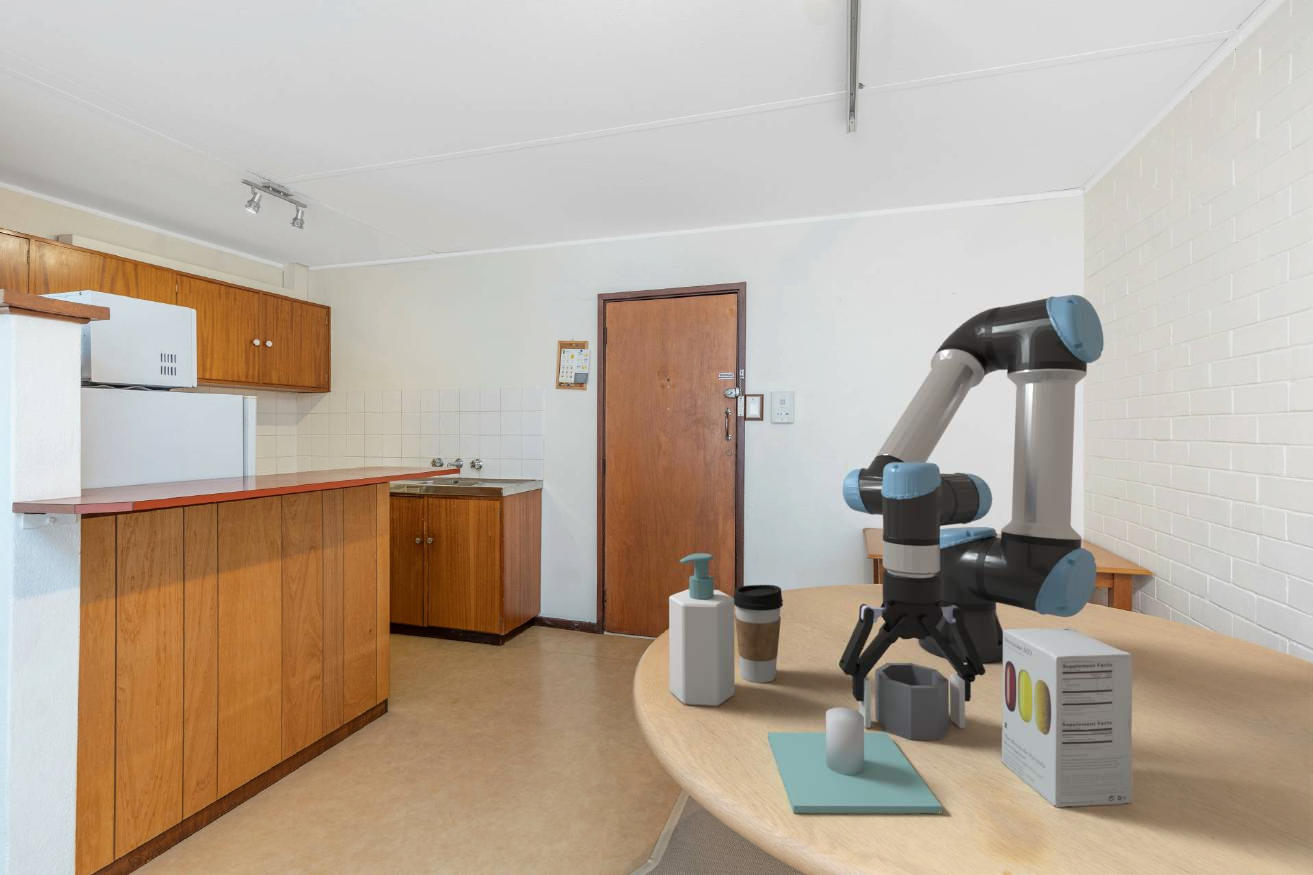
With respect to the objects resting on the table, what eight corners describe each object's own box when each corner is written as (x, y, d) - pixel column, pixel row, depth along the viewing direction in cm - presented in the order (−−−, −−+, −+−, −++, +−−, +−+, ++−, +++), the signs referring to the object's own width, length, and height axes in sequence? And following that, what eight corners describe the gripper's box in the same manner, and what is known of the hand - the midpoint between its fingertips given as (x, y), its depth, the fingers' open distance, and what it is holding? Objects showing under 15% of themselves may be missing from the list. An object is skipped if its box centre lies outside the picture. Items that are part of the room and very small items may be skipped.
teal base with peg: (886, 738, 80) (886, 687, 80) (941, 813, 64) (941, 750, 64) (767, 738, 80) (767, 687, 80) (793, 812, 64) (793, 750, 64)
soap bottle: (662, 685, 97) (662, 551, 97) (711, 676, 101) (711, 547, 101) (690, 712, 88) (690, 563, 88) (743, 701, 92) (743, 558, 92)
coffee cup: (783, 687, 96) (783, 595, 96) (731, 683, 98) (730, 593, 98) (783, 668, 105) (782, 583, 105) (734, 664, 106) (734, 580, 106)
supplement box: (999, 761, 74) (998, 627, 74) (1068, 758, 75) (1068, 625, 75) (1057, 809, 65) (1056, 655, 65) (1135, 805, 66) (1135, 652, 66)
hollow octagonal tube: (928, 709, 89) (928, 662, 89) (958, 740, 80) (957, 687, 80) (869, 709, 89) (869, 662, 89) (891, 739, 80) (891, 687, 80)
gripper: (983, 565, 88) (983, 710, 88) (817, 565, 88) (817, 710, 88) (1013, 577, 80) (1013, 736, 80) (831, 577, 81) (831, 735, 81)
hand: (911, 723), depth 84 cm, fingers open, 12 cm apart
